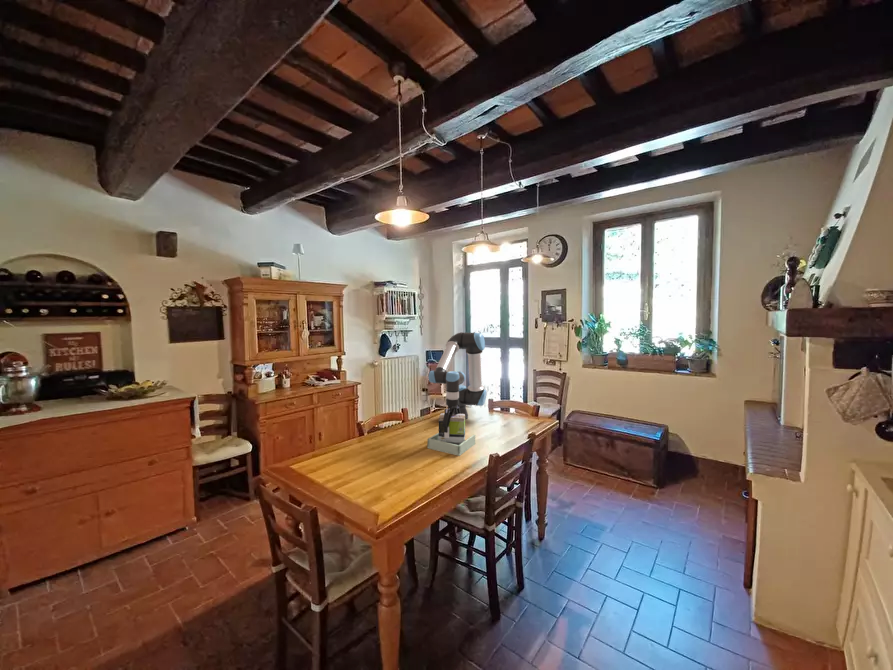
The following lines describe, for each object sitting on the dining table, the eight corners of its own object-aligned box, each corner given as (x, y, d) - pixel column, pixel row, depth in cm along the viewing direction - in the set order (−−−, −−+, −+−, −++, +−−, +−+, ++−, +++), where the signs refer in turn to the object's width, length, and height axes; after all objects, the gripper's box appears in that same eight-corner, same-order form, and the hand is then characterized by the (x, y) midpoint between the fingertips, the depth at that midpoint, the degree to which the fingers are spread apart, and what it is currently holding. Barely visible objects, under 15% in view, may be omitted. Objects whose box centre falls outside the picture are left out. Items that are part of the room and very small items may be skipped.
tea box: (465, 437, 219) (465, 413, 218) (464, 443, 209) (464, 418, 208) (440, 436, 221) (440, 412, 219) (438, 442, 211) (438, 417, 209)
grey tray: (444, 437, 228) (445, 428, 228) (475, 444, 218) (475, 435, 217) (427, 448, 211) (427, 439, 211) (459, 455, 201) (459, 446, 200)
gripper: (456, 393, 225) (456, 427, 227) (436, 402, 204) (435, 439, 206) (467, 394, 221) (467, 429, 223) (447, 404, 200) (447, 442, 202)
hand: (452, 434), depth 214 cm, fingers closed on tea box, 12 cm apart
